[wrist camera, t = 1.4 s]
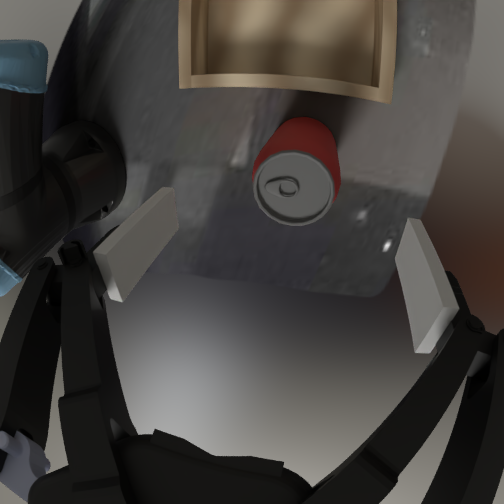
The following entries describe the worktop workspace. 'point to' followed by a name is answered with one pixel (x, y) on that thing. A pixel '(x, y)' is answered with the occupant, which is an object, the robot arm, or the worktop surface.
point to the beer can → (297, 172)
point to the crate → (290, 45)
